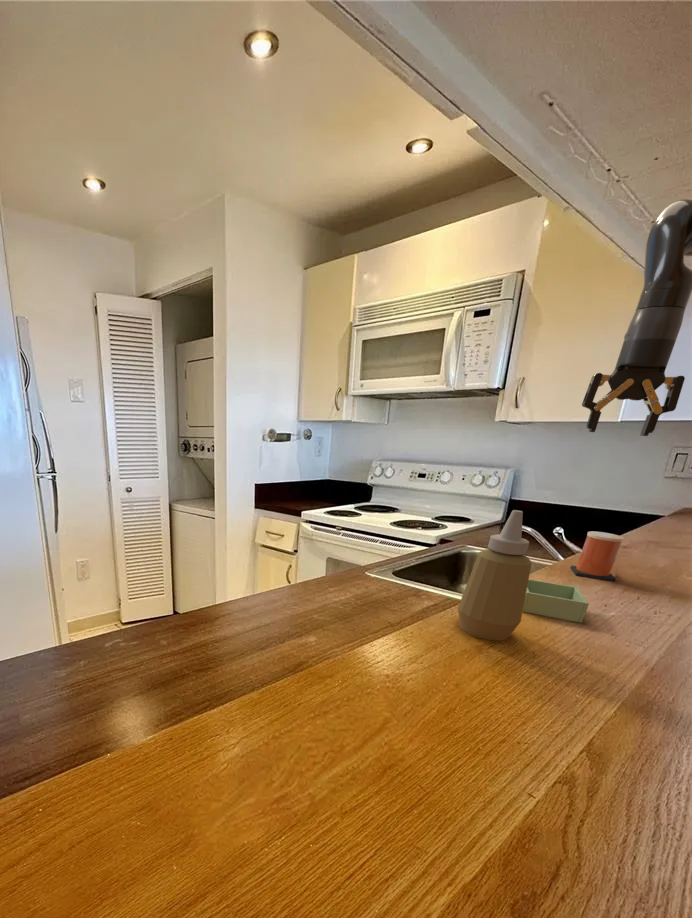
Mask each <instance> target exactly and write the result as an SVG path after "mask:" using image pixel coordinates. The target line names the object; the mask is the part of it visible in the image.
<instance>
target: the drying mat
mask: <svg viewBox="0 0 692 918" xmlns="http://www.w3.org/2000/svg"><path fill="white" fill-rule="evenodd" d="M576 567H577V565H570V570H571V571H572V572H573V574H574V575H575V576H578V577H583V578H589V579H596V580H603V581H609V582H616V581H617V578H616V577H615V576H614V575H613V574H612V572H611V573H610V575H609V576H596V575H590V574H586V573H583V572H580V571H578V570H577V569H576Z"/></svg>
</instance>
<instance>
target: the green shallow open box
mask: <svg viewBox="0 0 692 918" xmlns="http://www.w3.org/2000/svg"><path fill="white" fill-rule="evenodd" d="M589 604H590V603H589V602H588V600H587V599H586V598H585V596H584V595H583V593H582V592H581V590H580V589H579V587H578V586H572V585H568V584H567V585H565V584H562V583H554V582H549V581H543V580H539V579H538V580H537V579H531V578H529V580H528V585H527V590H526V596H525V601H524V606H523V611H522V613H529V614H534V615H540V616H545V617H550V618H556V619H561V620H565V621H570V622H574V623H575V622H577V623H583V622H584V617H585V615H586V613H587V610H588V608H589Z"/></svg>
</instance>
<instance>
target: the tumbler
mask: <svg viewBox="0 0 692 918" xmlns="http://www.w3.org/2000/svg"><path fill="white" fill-rule="evenodd" d="M624 540H625V537H624V536H621V535H619V534H615V533H609V532H604V531H593V530H592V531H587V534H586V538H585V541H584V544H583V546H582V550H581V552H580V555H579V558H578V561H577V565H576V566H577V567H576V569H577V570H578V571H580V572H583V573H586V574H590V575H596V576H609V575H610V573H611V574H612V570H613V567H614V565H615V562H616V559H617V557H618V555H619V551H620V549H621V546H622V543H623V542H624Z"/></svg>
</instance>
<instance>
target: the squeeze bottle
mask: <svg viewBox="0 0 692 918" xmlns="http://www.w3.org/2000/svg"><path fill="white" fill-rule="evenodd" d="M523 514H524V512H523V510H517V509H513V510H512V511H511V512H510V515H509V517H508V518H507V520H506V522H505V524H504V525H503V528H502V529H501V531H500V533H499V534H498V533H497V534H491V535H490V537H489V541H488V545H487V548H486V549H483V550H481V551H479V552H478V554H477V556H476V559H475V562H474V564H473V567H472V569H471V572H470V574H469V577H468V579H467V583H466V586H465V587H464V591H463V593H462V596H461V599H460V601H459V604H458V607H457V613H458V621H459V627H460V628H461V630H462V631H463V632H465V633H467V634H468V635H471V636H473V637H476V638H478V639H483V640H487V641H496V642H497V641H505V640H507V639H508V638H509V637H510V636H511V635H512V634H513V633H514V631H515V630H516V628H517V627H518V626H519V625H520V624H521V622H522V618H523V617H522V616H523V606H524V601H525V596H526V590H527V585H528V580H529V579H530V574H531V569H532V560H531V559H530V558H529V557H528V556H526V555H527V552H528V550H529V546H530V541H529V540H528V539H526V538H522V537H523V536H522V535H523V534H522V533H523V516H524V515H523Z"/></svg>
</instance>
